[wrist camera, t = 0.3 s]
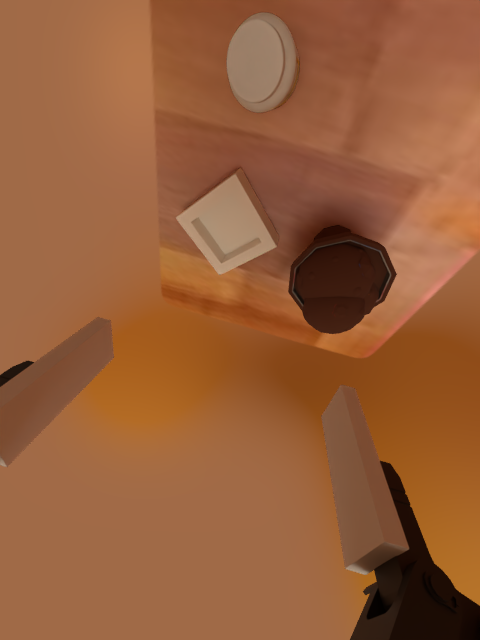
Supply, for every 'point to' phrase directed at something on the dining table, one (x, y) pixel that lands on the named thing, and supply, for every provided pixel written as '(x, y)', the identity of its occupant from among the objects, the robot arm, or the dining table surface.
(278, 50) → the supplement bottle
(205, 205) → the holder
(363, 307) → the ice cream bowl
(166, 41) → the dining table surface
